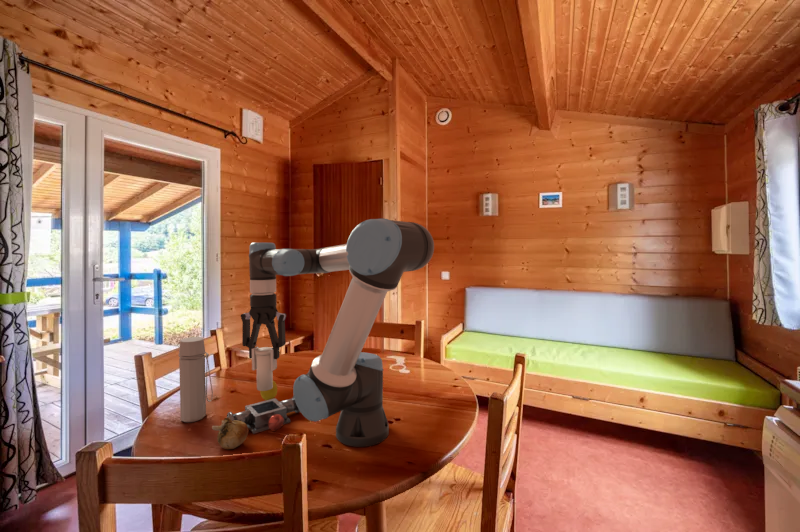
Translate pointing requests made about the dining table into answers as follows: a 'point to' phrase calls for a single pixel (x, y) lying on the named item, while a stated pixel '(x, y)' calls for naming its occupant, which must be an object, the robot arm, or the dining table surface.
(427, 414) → the dining table surface
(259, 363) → the pipe stub
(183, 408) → the water bottle
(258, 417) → the valve body
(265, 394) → the lemon
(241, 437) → the onion
